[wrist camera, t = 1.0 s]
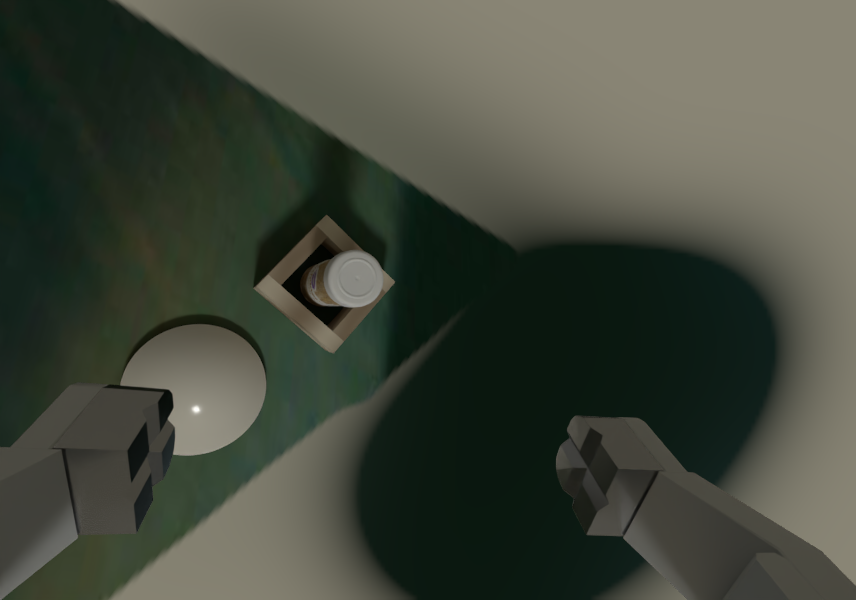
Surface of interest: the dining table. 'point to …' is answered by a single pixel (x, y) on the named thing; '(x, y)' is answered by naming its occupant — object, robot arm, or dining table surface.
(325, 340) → the holder collar
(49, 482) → the robot arm
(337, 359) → the dining table surface
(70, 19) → the dining table surface
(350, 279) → the sprinkles bottle
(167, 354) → the white domed disc
